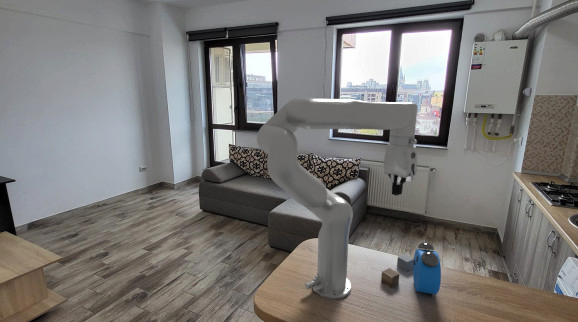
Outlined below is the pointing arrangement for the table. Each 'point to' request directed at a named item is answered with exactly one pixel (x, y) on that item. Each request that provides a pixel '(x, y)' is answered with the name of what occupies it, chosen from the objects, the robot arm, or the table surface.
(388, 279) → the walnut block
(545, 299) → the table surface
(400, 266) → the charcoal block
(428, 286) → the alarm clock
